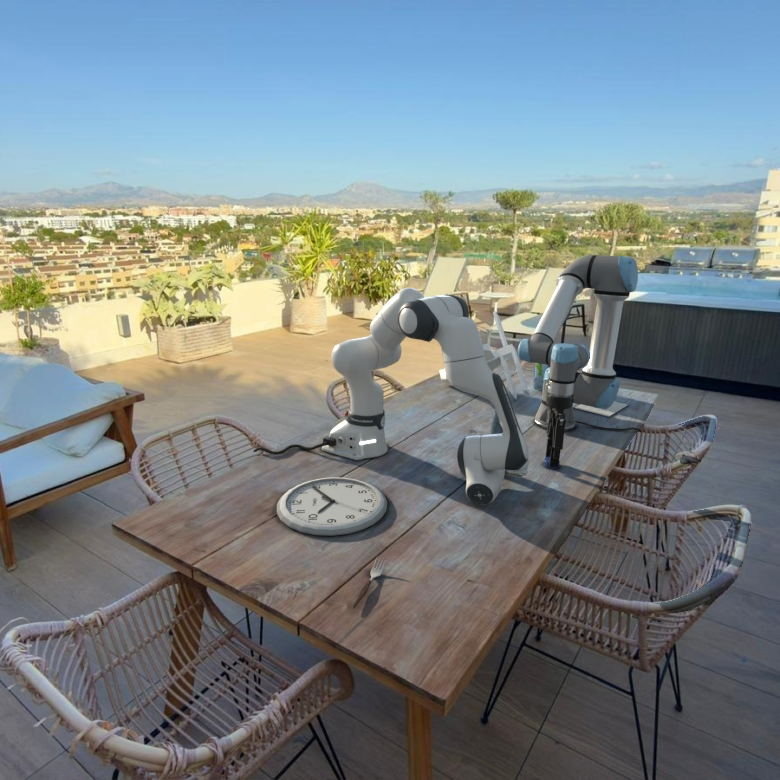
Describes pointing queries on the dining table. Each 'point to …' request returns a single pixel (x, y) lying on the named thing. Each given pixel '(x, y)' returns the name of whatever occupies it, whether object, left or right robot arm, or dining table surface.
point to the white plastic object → (500, 360)
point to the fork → (374, 573)
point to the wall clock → (331, 506)
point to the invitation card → (606, 412)
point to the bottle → (496, 425)
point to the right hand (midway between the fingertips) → (551, 461)
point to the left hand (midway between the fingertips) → (497, 451)
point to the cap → (546, 463)
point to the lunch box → (539, 375)
